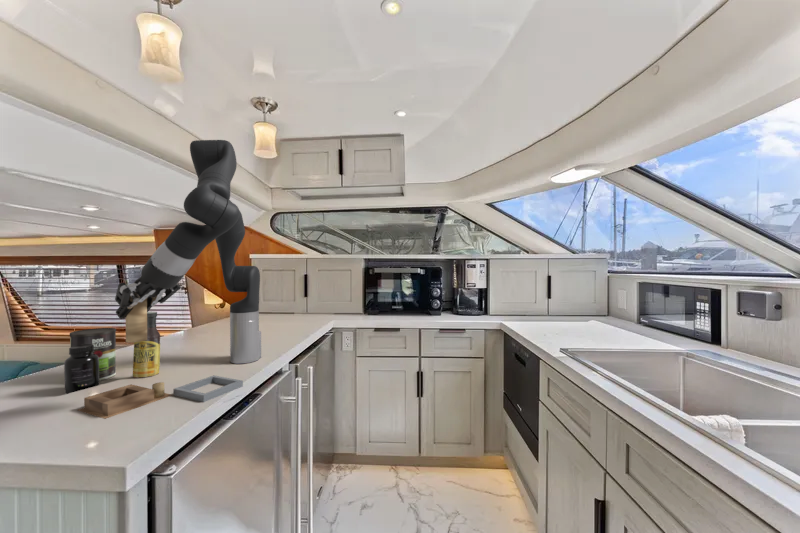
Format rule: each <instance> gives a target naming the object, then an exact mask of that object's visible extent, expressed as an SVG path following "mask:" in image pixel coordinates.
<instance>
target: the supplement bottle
mask: <svg viewBox="0 0 800 533" xmlns="http://www.w3.org/2000/svg"><path fill="white" fill-rule="evenodd" d="M93 352H94V345H93V344H83V345H77V346H72V347H69V348H68V355H69V357H67V358H65V360H64V362H63V368H64V369H63V371H64V372H63V375H64V376H63V377H64V378H63V379H64V393H65V394H66V395H68V394H72V393H75V392H80V391H83V390H86V389H87V390H88V389H91V388H94V387H98V386H100V381H99V357H98V355H96V354H94V353H93Z"/></svg>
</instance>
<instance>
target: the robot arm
mask: <svg viewBox="0 0 800 533" xmlns="http://www.w3.org/2000/svg"><path fill="white" fill-rule="evenodd" d="M189 151H190V152H189V153H190V156H191V160H192V161H191V162H192V163H193V164H192V165H193V166H194V169H195V173H196V176H197V185H196V187H195V188H194V189H192V190H191V191H190V192H189V193H188V194H187V196H186V197H185V199H184V201H183V209H184V211H185V213H186V214H187V215H188V216H189V217H191V218H192V219H193V220H197V221H198V222H201V223H203V224H197V223H193V222H189V221H183V222H179V223H178V224H177V225H175V227H174V228H173V230H172V231H171V233H169V235H168V236H167V238H166V239H165V240H164V242H162V243H161V244H160V245H159V246H158V247H157V248H156V250H155V251H154V253H153V254H152V255H151V256H150V258H149V259H148V260H147V261H146V263H145V264H144V265H143V267H142V268H141V271H140V272H141V274H140V277H139V278H137V279H136V280H134V281H133V283H130V284H126V282H120V283H119V284H118V285H117V289H116V294H115V299H114V301H116V303H117V304H118V305H119V307H118V308H117V310H116V311H115V314H116V316H118V318H119V319H120V320H123V319H125V320H126V316H127V315H128V314H129V312H130V311H131V310H132V309H133V307H134V306H135V305H136V304H137V303H141V302H143V301H144V300H145V299H146V298H147V312H150V310H151V308H153V306H156V305H157V304H158V303H159V304H163V303H165V302H166V301H167V300H169V299H170V297H172V296H173V295H174V294H176V293H177V292H178V291H179V290H180V289H181V286H180V284H179V282H180V281H181V280H183V278H184V276H185V275H186V274H187V273H188V271H189V270H190V269H191V267H192V266H193V265H194V263H195V261H196V259H197V258H198V257H199V256H200V255H201V254H202V252H203V251H204V249H205V248H206V247H207V246H208V245H209V244H211V243H212V242H214V241H215V243H216V246H217V251H218V254H219V259H220V263H221V264H220V265H221V271H222V276H223V281H224V282H223V283H224V284H225V288H226V289H227V291H228V292H230V293H246V296H245V297H244V298H242V299H241V300H238V301H235V302H233V303H231V304H230V306H229V326H230V327H229V337H230V342H229V346H230V348H229V349H230V350H229V354H230V355H229V357H230V360H229V362H230V363H232V364H239V365H240V364H250V363H254V362H256V361H258V360H259V359H261V358H262V331H261V330H260V318H259V317H260V314H259V313H260V288H261V274H260V269H259V268H258V266H256V265H236V262H235V261H236V260H235V257H236V254H237V251H238V250H239V247H240V245H241V244H242V242H243V240H244V237H245V235H246V228H245V223H244V219H243V214H242V212H241V210H240V209H239V206H238V205H237V204H235V203H234V202H233V201H232V200H230V198H231V183H232V180H233V179H234V176H235V173H236V170H237V164H238V163H237V155H236V152H235V151H236V150H235V148H234V147H233V145H232V143H231V142H230V141H228V140H225V139H203V140H202V139H201V140H200V139H198V140H192V141H191V142H190V144H189ZM164 294H165V295H164ZM163 295H164V296H163ZM139 296H140V297H139ZM131 298H133V301H132V302H131V301H130V299H131Z"/></svg>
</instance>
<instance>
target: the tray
mask: <svg viewBox="0 0 800 533" xmlns="http://www.w3.org/2000/svg"><path fill="white" fill-rule="evenodd" d="M210 384H219V385H223V386H221V387H219V388H216V389H212V390H211V391H208V392H205V393H204V392H201V391H197V390H195V389H199V388H201V387H205V386H207V385H210ZM242 387H244V382H243V380H241V379H236V378H231V377H227V376H226V377H224V376H219V375H211V376H208V377H205V378H202V379H201V378H200V379H198V380H196V381H192V382H190V383H187V384H183V385H180V386H178V387H174V388H173V391H172V392H173V394H172V396H175V397H180V398H183V399H188V400H193V401H196V402H201V403H205V402H209V401H210V400H213V399H215V398H218V397H220V396H223V395H225V394H228V393H231V392H233V391H235V390H239V388H242Z"/></svg>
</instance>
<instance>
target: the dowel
mask: <svg viewBox="0 0 800 533" xmlns="http://www.w3.org/2000/svg"><path fill="white" fill-rule="evenodd" d="M139 297H140V296H139ZM130 301H131V302H132V301H133V298H131V299H130ZM145 340H147V298H146V299H145V300H144V301H143V302H141V303H137V304H136V305H135V306H134V307H133V309H132V310H131V311H130V312H129V314H128V315H127V316H126V318H125V343H134V342H141V341H145Z"/></svg>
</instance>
